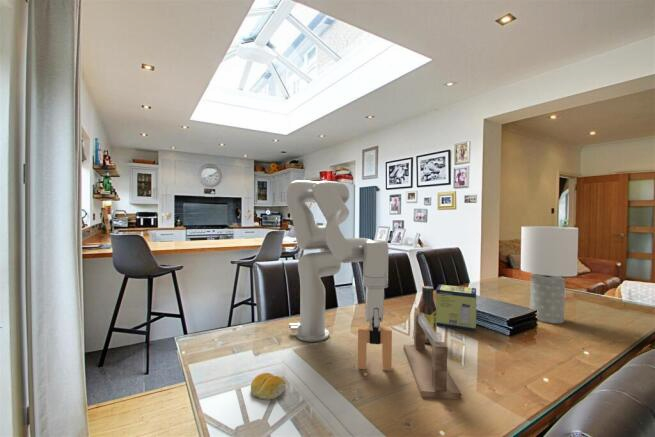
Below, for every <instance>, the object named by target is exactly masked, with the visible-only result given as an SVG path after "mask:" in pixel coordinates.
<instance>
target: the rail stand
mask: <svg viewBox="0 0 655 437" xmlns="http://www.w3.org/2000/svg"><path fill="white" fill-rule="evenodd" d="M413 330H414V331H413V334H414V335H413V344H403V351H404V355H405V357H406V359H407V362H408V365H409V367H410V368H409V369H410V371H411V373H412V375H413V379H414V382H415V384H416V387H417V389H418V392H419V395H420V397H421V398H436V399H450V400H451V399H452V400H455V399H456V400H462V392H461V390H460V389H459V387H458V385H457V383H456V382H455V380H454V379H453V377H452V376H451V373H450V372H449V370H448V346H447V344H446V343H445V342H444V341H442V340H441V339H440V337H439V335H438V334H437V331H436V332H435V331H434V330H433V328H432V327H431V325H430V324H429V322H428V321H427V319H426V316H425V314H424V313H419V312H414V329H413ZM425 334H426V336H427V338H428V339H429V341H430V343H429V344H431V345H426V343H425Z"/></svg>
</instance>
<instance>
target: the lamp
mask: <svg viewBox="0 0 655 437" xmlns="http://www.w3.org/2000/svg"><path fill="white" fill-rule="evenodd" d="M520 234H521V236H520V239H521V240H520V270H521V272H525V273H529V274H532V275H531V276H530V287H529V290H530V292H529V293H530V294H529V296H530V297H529V301H530V302H529V310H530V309H533V310H537V319H538V321H539V322H541V323H545V324H546V323H547V324H554V325H555V324H556V325H560V324H561V325H562V324H563V323H564V322H565V304H566V303H565V299H566V296H565V295H566V279H565V278H564V277H576V276H578V252H579V227H569V226H567V227H566V226H545V225H544V226H541V225H540V226H539V225H538V226H535V225H533V226H531V225H529V226H528V225H527V226H526V225H524V226H521V233H520ZM538 321H537V322H538Z"/></svg>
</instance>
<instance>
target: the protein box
mask: <svg viewBox="0 0 655 437" xmlns="http://www.w3.org/2000/svg"><path fill="white" fill-rule="evenodd" d="M435 294H436V295H435V306H436V309H437V327H443V328H448V329H453V330H461V331H466V332H473V333H475V332H476V329H477V288H476V287H469V286H468V287H466V286H457V285H446V284H438V286H437V287H436V291H435Z"/></svg>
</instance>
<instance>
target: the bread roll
mask: <svg viewBox="0 0 655 437" xmlns="http://www.w3.org/2000/svg"><path fill="white" fill-rule="evenodd" d="M285 390H286V381H285V380H284V378H283V377H281V376H279V375H274V374H272V373H270V372H262V373H260V374H258V375H256V376H255V377H254V378H253V380H252V381H251V385H250V392H251V394H252V395H253V397H255V398H260V399H261V400H265V401H266V400H269V401H270V400H274V399H276V398H278V397H279V396H281V395H282V394H284V393H285Z"/></svg>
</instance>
